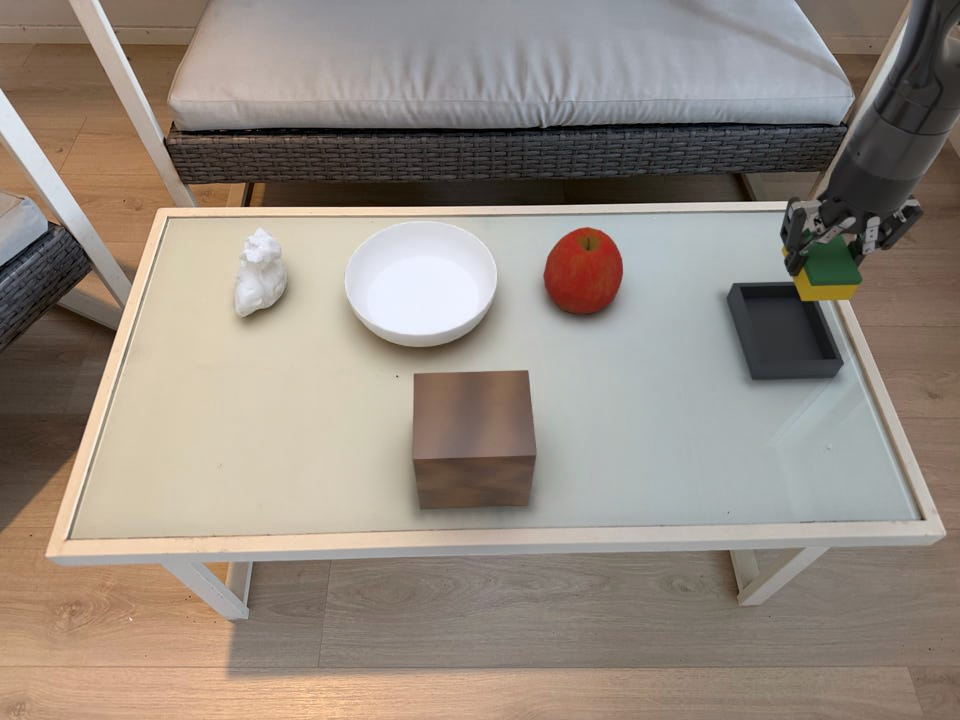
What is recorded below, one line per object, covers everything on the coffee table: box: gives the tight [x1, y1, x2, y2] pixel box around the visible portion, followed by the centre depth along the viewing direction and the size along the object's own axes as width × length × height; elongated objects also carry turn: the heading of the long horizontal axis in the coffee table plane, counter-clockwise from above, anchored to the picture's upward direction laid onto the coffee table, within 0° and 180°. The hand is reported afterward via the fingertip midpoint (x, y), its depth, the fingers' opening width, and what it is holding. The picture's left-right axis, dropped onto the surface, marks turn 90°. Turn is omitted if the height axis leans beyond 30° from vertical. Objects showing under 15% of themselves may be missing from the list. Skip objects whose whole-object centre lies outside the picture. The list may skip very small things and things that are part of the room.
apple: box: [542, 226, 624, 315], centre depth 91 cm, size 10×10×10 cm
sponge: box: [781, 228, 864, 302], centre depth 80 cm, size 8×6×4 cm
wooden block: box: [412, 369, 538, 510], centre depth 75 cm, size 12×10×12 cm
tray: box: [726, 281, 845, 381], centre depth 90 cm, size 13×10×3 cm
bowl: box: [343, 220, 499, 348], centre depth 91 cm, size 20×20×6 cm
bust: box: [234, 227, 288, 318], centre depth 91 cm, size 12×8×11 cm
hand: (817, 270), depth 81 cm, fingers closed on sponge, 5 cm apart
